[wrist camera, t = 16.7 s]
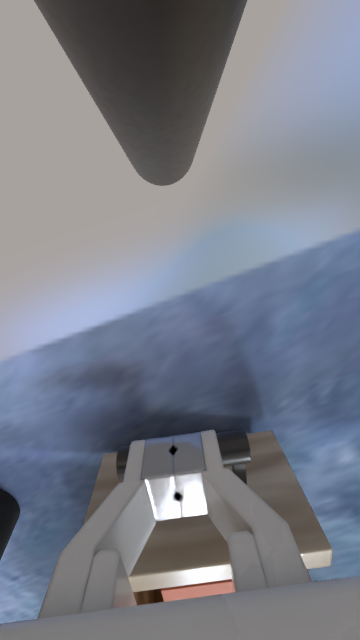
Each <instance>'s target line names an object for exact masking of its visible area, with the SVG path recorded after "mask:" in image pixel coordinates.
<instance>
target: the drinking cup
mask: <svg viewBox="0 0 360 640" xmlns="http://www.w3.org/2000/svg"><path fill="white" fill-rule="evenodd" d="M19 514H20V509H19V506H18V504H17V502H16V501H15V499H14V498H13V497H12V496H10V495H9V494H8V493H6V492H4V491H2V490H0V559H1V557H2V555H3V552H4V550H5V548H6V545H7V543H8V541H9V539H10V536H11V534H12V532H13V529H14V527H15V525H16V522H17V520H18V518H19Z"/></svg>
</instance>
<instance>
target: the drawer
mask: <svg viewBox="0 0 360 640" xmlns="http://www.w3.org/2000/svg"><path fill="white" fill-rule="evenodd" d="M216 436H217V441H218V445H219V449H220V454H221V458H222V462H223V467H224V468H229V469H230V470H231V471H232V472H233V473H234V474H235V475H236V476H238V477H239V478H240V479H241V480H242V481H243V482H244V483H245V484H246V485H247V486H248V487H249V488H250V489H251V490H253V491H254V492H255V493H256V494H257V495H258V496H259V497H260V498H261V499H262V500H263V501H264V502H265V503H267V504H268V505H269V506H270V507H271V508H272V509H273V510H274V511H275V512H276V513H277V514H278V515H279V516H280V517H282V518H283V519H284V520H285V521H286V522H287V523H288V525H289V527H290V530H291V532H292V535H293V537H294V540H295V542H296V545H297V547H298V549H299V552H300V554H301V557H302V559H303V562H304V564H305V567H306V569H312V568H320V567H327V566H330V565H331V558H332V547H331V545H330V543H329V542H328V540H327V538H326V536H325V534H324V532H323V530H322V528H321V526H320V524H319V522H318V520H317V518H316V516H315V514H314V512H313V510H312V508H311V506H310V504H309V502H308V500H307V498H306V496H305V494H304V492H303V490H302V488H301V486H300V484H299V482H298V480H297V478H296V476H295V474H294V472H293V470H292V468H291V466H290V465H289V463H288V461H287V459H286V457H285V455H284V453H283V451H282V449H281V447H280V445H279V443H278V441H277V439H276V437H275V435H274V433H273V431H264V432H257V433H249V434H246V432H245V431H244V430H237V431H229V432H222V433H216ZM129 449H130V446H122V447H120V448H119V449H118V452H114V453H107V454H104V455H103V458H102V462H101V465H100V468H99V472H98V475H97V479H96V482H95V485H94V489H93V492H92V496H91V499H90V503H89V506H88V509H87V513H86V516H85V520H84V523H83V525H84V524H85V523H86V522H87V521H88V519H89V518H90V517H91V516H92V515H93V513H94V512H95V511H96V510H97V509H98V507H99V506H100V505H101V504H102V503H103V501H104V500H105V499H106V498H107V497H108V495H109V494H110V493H111V492H112V491H113V489H114V488H115V487H116V486H117V485H118V483H123V480H124V475H125V470H126V464H127V459H128V454H129ZM82 527H83V526H82ZM307 572H308V570H307ZM308 574H309V573H308ZM309 577H310V575H309ZM128 579H129V582H130V585H131V588H132V591H133V594H134V597H135V600H136V603H137V605H143V604H151V603H158V602H164V600H163V596H162V593H161V589H162V588H169V587H177V586H184V585H192V584H199V583H207V582H214V581H222V580H229V579H232V576H231V567H230V559H229V551H228V543H227V542H226V540H225V539H224V538H223V536H222V535H221V533H220V532H219V530H218V529H217V528H216V526H215V525H214V523H213V522H212V520H211V519H210V518H209V516H208V514H206V515H197V516H187V517H179V518H173V519H167V520H161V521H156V524H155V526H154V528H153V530H152V532H151V534H150V536H149V538H148V540H147V542H146V544H145V546H144V548H143V550H142V552H141V554H140V556H139V558H138V560H137V562H136V564H135V566H134V568H133V570H132V572H131V574H130V576H129V578H128ZM310 579H311V578H310ZM311 582H312V580H311Z"/></svg>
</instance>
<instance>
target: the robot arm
mask: <svg viewBox="0 0 360 640" xmlns="http://www.w3.org/2000/svg"><path fill="white" fill-rule="evenodd" d="M206 514H208V516H209V518H210V519H211V520H212V522H213V523H214V525H215V526H216V528H217V529H218V530H219V532H220V533H221V535H222V536H223V538H224V539H225V540H226V542H227V543H228V551H229V559H230V567H231V576H232V584H233V593H226V594H218V595H211V596H203V597H196V598H188V599H181V600H173V601H166V602H158V603H151V604H143V605H137V603H136V600H135V597H134V594H133V591H132V588H131V585H130V582H129V579H128V578H129V576H130V574H131V572H132V570H133V568H134V566H135V564H136V562H137V560H138V558H139V556H140V554H141V552H142V550H143V548H144V546H145V544H146V542H147V540H148V538H149V536H150V534H151V532H152V530H153V528H154V526H155V524H156V521H161V520H167V519H173V518H179V517H187V516H197V515H206ZM0 640H360V576H353V577H346V578H338V579H331V580H323V581H316V582H311V579H310V577H309V574H308V572H307V569H306V567H305V564H304V562H303V559H302V557H301V554H300V552H299V549H298V547H297V545H296V542H295V540H294V537H293V535H292V532H291V530H290V527H289V525H288V523H287V522H286V521H285V520H284V519H283V518H282V517H280V516H279V515H278V514H277V513H276V512H275V511H274V510H273V509H272V508H271V507H270V506H269V505H268V504H267V503H265V502H264V501H263V500H262V499H261V498H260V497H259V496H258V495H257V494H256V493H255V492H254V491H253V490H251V489H250V488H249V487H248V486H247V485H246V484H245V483H244V482H243V481H242V480H241V479H240V478H239V477H238V476H236V475H235V474H234V473H233V472H232V471H231V470H230V469H229V468H224V467H223V462H222V458H221V454H220V449H219V445H218V441H217V436H216V432H215V430H207V431H201V433H200V432H196V433H189V434H182V435H176V436H168V437H160V438H151V439H146V440H136V441H132V442H131V444H130V449H129V454H128V459H127V464H126V470H125V475H124V480H123V483H118V485H117V486H116V487H115V488H114V489H113V491H112V492H111V493H110V494H109V495H108V497H107V498H106V499H105V500H104V501H103V503H102V504H101V505H100V506H99V507H98V509H97V510H96V511H95V512H94V513H93V515H92V516H91V517H90V518H89V519H88V521H87V522H86V523H85V524H84V525H83V527H82V528H81V529H80V530H79V531H78V533H77V534H76V535H75V536H74V537H73V539H72V540H71V541H70V542H69V543H68V545H67V546H66V547H65V548H64V549H63V551H62V552H61V553H60V555H59V558H58V561H57V564H56V566H55V569H54V572H53V575H52V578H51V581H50V584H49V587H48V589H47V592H46V595H45V598H44V601H43V604H42V607H41V610H40V613H39V615H38V618H37V619H31V620H24V621H16V622H9V623H2V624H0Z"/></svg>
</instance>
